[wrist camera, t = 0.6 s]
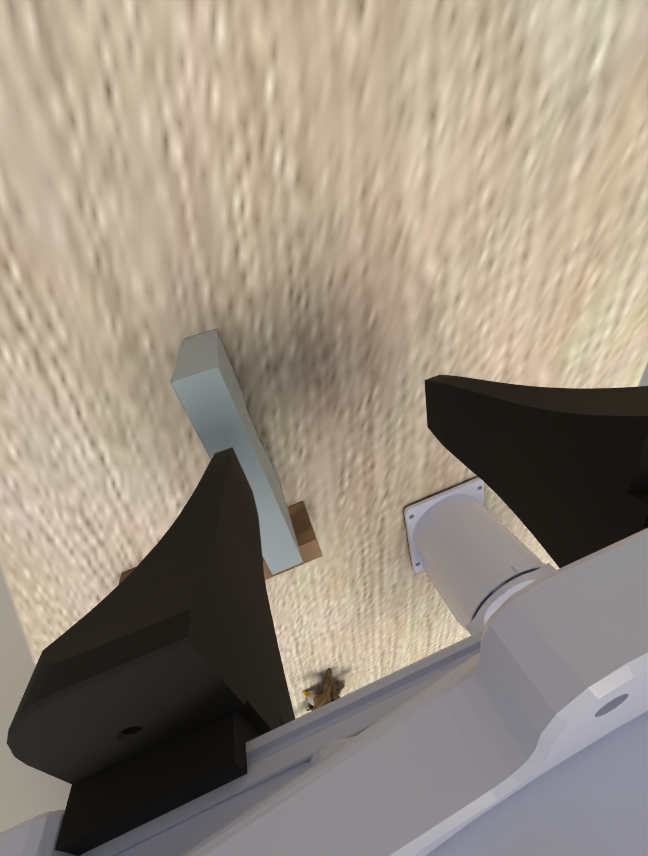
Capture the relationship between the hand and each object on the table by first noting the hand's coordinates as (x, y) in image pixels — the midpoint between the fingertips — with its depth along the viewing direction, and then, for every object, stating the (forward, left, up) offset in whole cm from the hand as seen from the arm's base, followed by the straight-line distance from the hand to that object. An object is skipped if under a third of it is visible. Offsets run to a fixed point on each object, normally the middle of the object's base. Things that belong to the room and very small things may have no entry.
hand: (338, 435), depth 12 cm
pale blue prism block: (-3, +4, -10) cm, 11 cm away
